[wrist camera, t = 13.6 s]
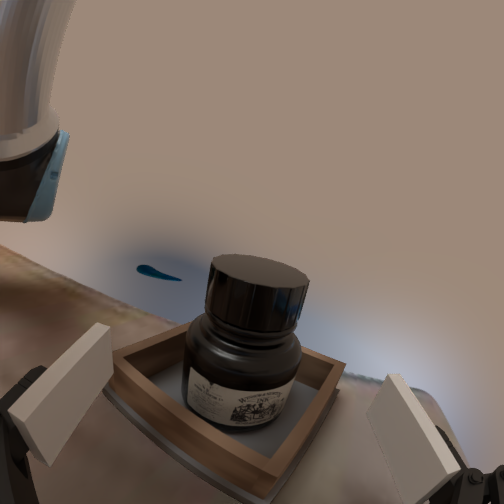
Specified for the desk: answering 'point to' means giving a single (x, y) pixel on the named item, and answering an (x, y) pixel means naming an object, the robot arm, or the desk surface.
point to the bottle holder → (214, 440)
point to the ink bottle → (244, 343)
